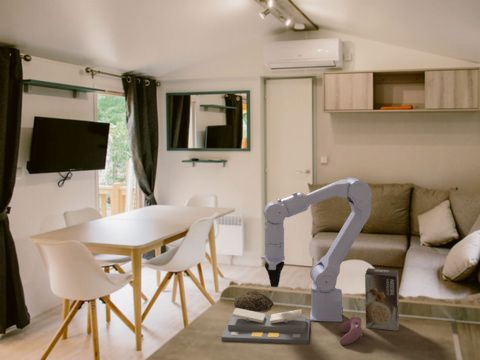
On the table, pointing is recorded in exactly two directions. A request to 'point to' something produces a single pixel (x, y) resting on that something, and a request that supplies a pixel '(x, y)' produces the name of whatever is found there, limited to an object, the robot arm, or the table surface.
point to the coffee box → (382, 299)
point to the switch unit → (267, 331)
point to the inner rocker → (286, 316)
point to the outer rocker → (248, 315)
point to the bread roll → (252, 301)
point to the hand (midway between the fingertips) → (274, 286)
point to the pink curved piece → (351, 330)
